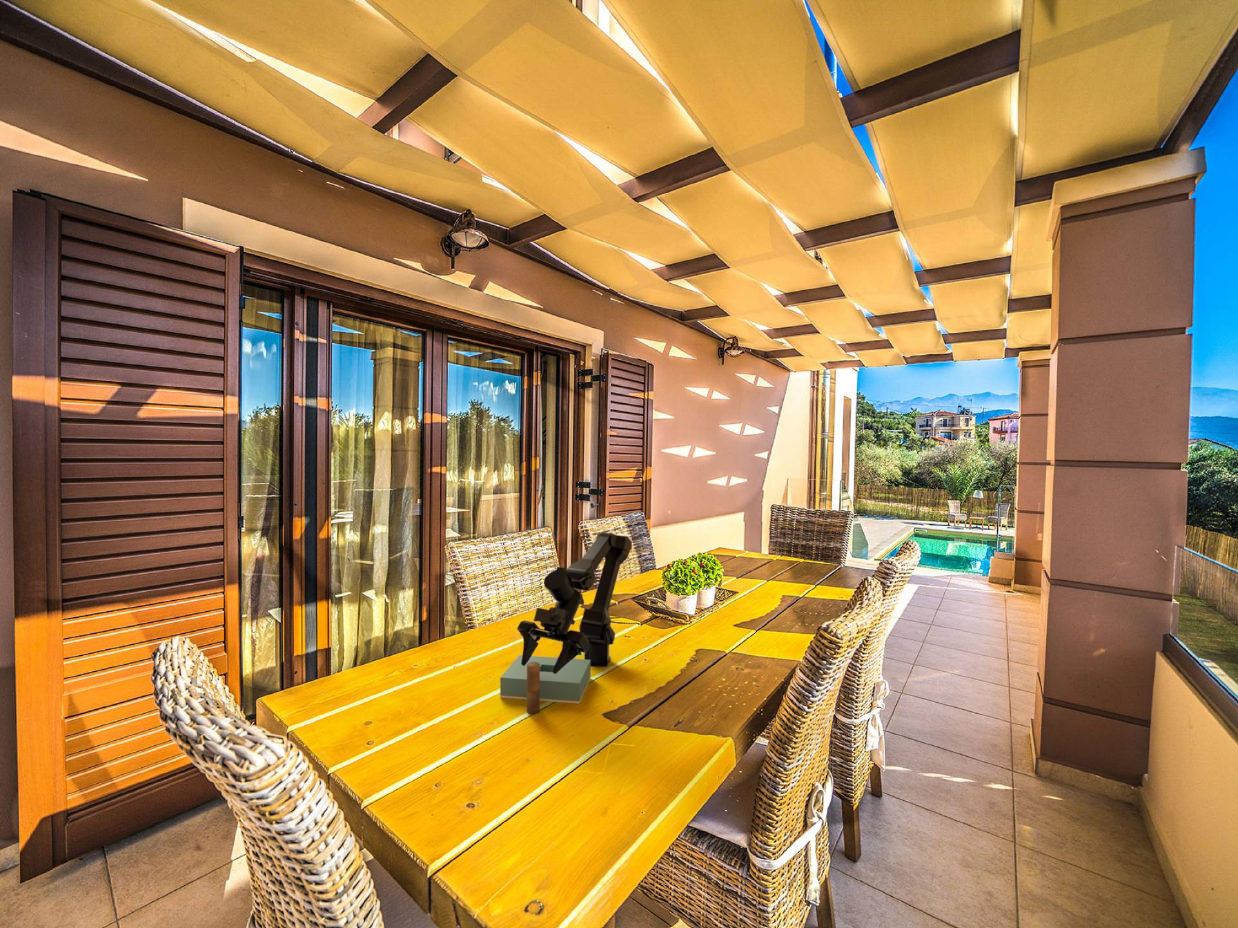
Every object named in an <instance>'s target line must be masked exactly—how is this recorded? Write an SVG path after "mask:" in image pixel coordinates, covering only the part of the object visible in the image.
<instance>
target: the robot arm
mask: <svg viewBox="0 0 1238 928" xmlns="http://www.w3.org/2000/svg"><path fill="white" fill-rule="evenodd" d="M595 538H596V539H595V540H594V541H593V543H592V544H591V546H590V547H589V548H588V550H587V551H586V552H585V553H584V555H583V556H582V557H581V559H580V560H577V561H574V562H573V563H571V564H570V565H569V566H568V567H567V568H565V567H564V566H557V567H556V570H552V571H551V572H549V573H548V574H546V576H545V577H544V579H543V583H544V584H543V585H544V587H545V589H546V590H547V591H548V593H549V595H550V596H551V597H552V599H554V600H555V601H556V603H555V604H554V607H552V606H550V608H549V609H547V608H546V609H545V608H541V607H537V608H536V609H535V613H534V618H533V621H530V620H529V621H528V620H525V619H524V620H522V621H520V622H519V623H518V625H517V627H516V630H517V631H518V632H519V635H520V636H521V637H522V640H523V648H522V649H523V650H522V654H521V655H522V662H521V664H522V665H523V666H525V665H526V663H527V662H528V661H529V659H530V657H531V656H533V654H534V652H535V651H536V649H537V647H538V646H539V643H538V641H540V640H541V638H543V639H547V640H553V641H556V642H561V643H562V646H561V650H560V652H559V655H558V657H557V658H558V659H557V661H556V664H555V666H554V669H553V673H554V674H556V673H557V672H558V671H560V670H561V669H562V668H563V667H564V666H565V665H566V664H567V663H568V662H570V661H571V660H572V659H576V657H577V656H581V655H582V654H583V653H584V654H583V655H584V659H585V660H591V667H600V668H601V667H602V668H607V667H608V666H609V664H610V663H609V662H610V660H611V656H610V645H613V644H614V641H615V639H616V633H615V631H614V629H613V627H612V626H611V624H612V618H611V616H610V612H609V609H610V606H611V602H612V597H613V595H614V589H615V587H616V582H617V578H618V574H619V571H620V568H621V565H622V564H623V563H624V562H625V561H626V560H627V559H628V557H629V555H630V554H629V553H630V552H631V550H632V547H633V544H632V540H631V539H630V538H629V536H627V535H617V534H614V533H613V532H598V533H597V535H596V537H595ZM603 560H604V563H603V567H602V571H601V574H600V578H599V582H598V584H597V587H596V593H595V595H594V598H593V599H594V600H593V602H592V605H591V606H590V607H589V608H585V609H584V610H583V613H582V614H583V615H582V618H581V619H580V622H579V627H578V628H579V629H578V630H573V629H570V627H571V626H572V625H573V626H574V625H575V623H576V621H575V619H574V618H575V617H576V613H577V612H578V610H579V607H580V605H581V606H582V605H583V606H584V605H585V600H584V596H583V594H582V593H580V591H585V592H587V591H590V589H591V588H592V586H593V585H594V582H595V581H596V575H595V572H596V570H597V569H598V568H599V565H600V564H601V563H602V561H603ZM536 622H539V623H540V624H539V625H540V626H541V627H543V628H540V626H538V625H537V624H536Z"/></svg>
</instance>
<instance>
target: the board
mask: <svg viewBox="0 0 1238 928" xmlns="http://www.w3.org/2000/svg"><path fill="white" fill-rule="evenodd" d="M522 655H523V654H519V655H518V656H517V657H516V658H515V659H514V661H513V662H512V663H511V664H510V665H509V667H507V669H506V670H505V672H504V673H502V674H501V676H500V677H499V678H500V685H499V687H500V688H499V689H500V692H499V693H500V694H499V695H500V696H499V697H500V698H503V699H516V700H526V701H527V664H528V663H530V662H538V663H540V702H554V703H555V702H556V703H566V704H576V705H577V704H580V703H581V702H582V698H583V697H584V694H585V692H586V689H587V687H588V685H589V682H590V680H591V670H592V669H591V667H592V666H591V660H585V659H582V658H573V659H572V660H571V661H570V662H568V663H567V664H566V665H565V666H564V667H563V668H562V669H561V670H560V671H558V672H557V673H556V674H554V673H553V669H554V666H555V664H556V661H557V659H558V657H555V656H554V657H552V656H541V655H539V656H537V655H532V656H531V657H530V659H529V661H528V662H527V663H526V665H525V666H523V665H522V664H521V662H522Z"/></svg>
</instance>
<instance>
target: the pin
mask: <svg viewBox="0 0 1238 928" xmlns="http://www.w3.org/2000/svg"><path fill="white" fill-rule="evenodd" d="M540 702H541V701H540V663H538V662H530V663H528V664H527V700H526V713H527V714H529V715H535V714H538V713H539V712H540V711H541V710H540V708H541V707H540V706H541V705H540V704H541V703H540Z"/></svg>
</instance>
